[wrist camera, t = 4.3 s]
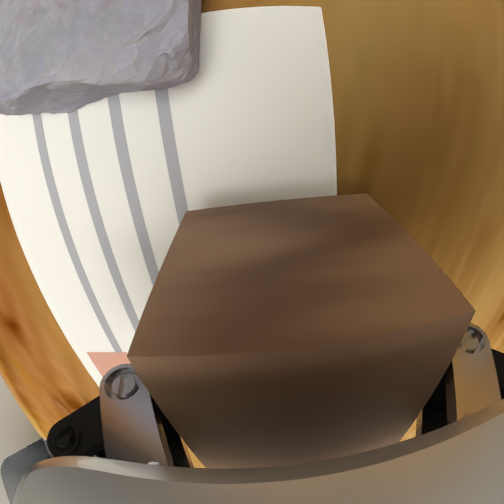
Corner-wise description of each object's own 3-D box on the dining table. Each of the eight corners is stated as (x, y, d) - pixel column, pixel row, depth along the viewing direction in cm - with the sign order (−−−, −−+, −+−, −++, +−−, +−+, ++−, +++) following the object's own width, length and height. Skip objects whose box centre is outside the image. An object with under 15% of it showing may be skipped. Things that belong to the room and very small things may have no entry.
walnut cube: (366, 193, 9) (475, 310, 4) (353, 324, 12) (395, 445, 7) (186, 211, 9) (126, 356, 4) (217, 340, 12) (208, 470, 7)
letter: (319, 8, 8) (321, 6, 8) (326, 371, 18) (327, 374, 18) (-12, 99, 8) (-14, 100, 8) (101, 386, 18) (100, 389, 18)
